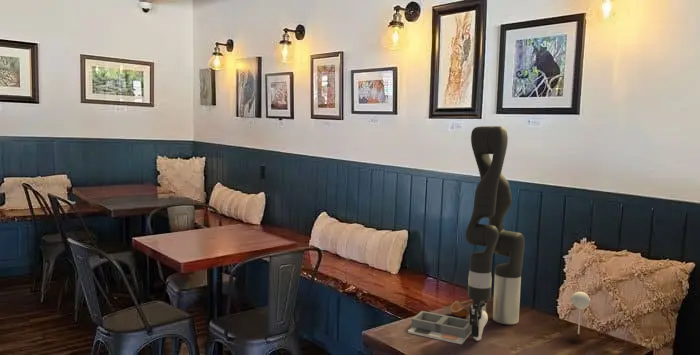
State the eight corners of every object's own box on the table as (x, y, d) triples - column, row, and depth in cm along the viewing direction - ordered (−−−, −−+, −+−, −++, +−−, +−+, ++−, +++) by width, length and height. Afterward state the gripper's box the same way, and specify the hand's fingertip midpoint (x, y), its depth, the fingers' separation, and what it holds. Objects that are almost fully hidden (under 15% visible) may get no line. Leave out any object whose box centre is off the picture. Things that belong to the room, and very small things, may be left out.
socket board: (421, 320, 198) (421, 310, 198) (472, 331, 189) (473, 320, 189) (407, 332, 187) (408, 322, 186) (461, 344, 178) (462, 333, 177)
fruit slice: (471, 320, 200) (472, 307, 200) (454, 320, 199) (454, 307, 199) (464, 312, 208) (464, 299, 208) (447, 312, 207) (447, 300, 207)
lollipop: (587, 332, 191) (590, 290, 189) (588, 338, 185) (591, 295, 183) (568, 329, 193) (571, 288, 191) (569, 335, 187) (572, 293, 185)
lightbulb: (487, 345, 178) (488, 312, 177) (467, 343, 179) (469, 310, 178) (486, 337, 184) (487, 306, 183) (467, 336, 185) (469, 304, 184)
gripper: (485, 291, 171) (483, 343, 173) (496, 280, 184) (494, 328, 186) (462, 287, 175) (460, 338, 177) (474, 277, 187) (472, 324, 189)
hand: (477, 333), depth 181 cm, fingers closed on lightbulb, 5 cm apart
